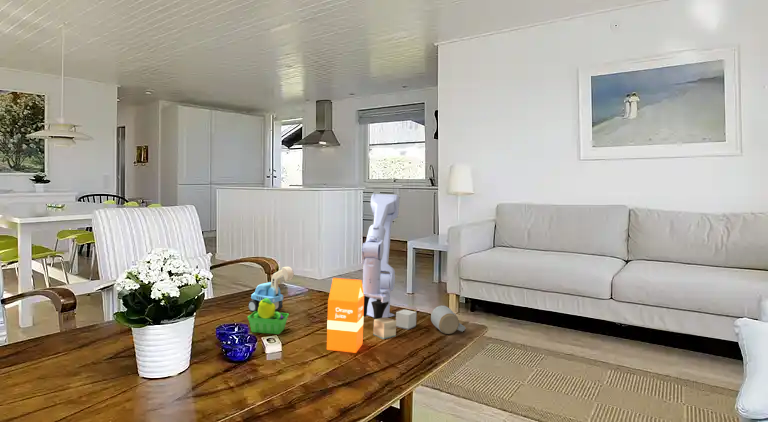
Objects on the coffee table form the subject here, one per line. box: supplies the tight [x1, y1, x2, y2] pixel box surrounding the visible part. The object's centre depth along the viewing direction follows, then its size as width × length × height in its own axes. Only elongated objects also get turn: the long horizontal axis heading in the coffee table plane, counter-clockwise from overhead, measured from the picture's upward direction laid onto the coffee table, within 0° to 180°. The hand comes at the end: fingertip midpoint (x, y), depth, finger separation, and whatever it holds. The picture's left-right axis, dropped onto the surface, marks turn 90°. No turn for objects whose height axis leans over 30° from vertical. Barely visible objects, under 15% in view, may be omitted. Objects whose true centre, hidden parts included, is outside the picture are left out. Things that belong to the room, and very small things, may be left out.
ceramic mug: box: [430, 305, 466, 335], centre depth 155 cm, size 11×8×8 cm
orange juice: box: [326, 277, 365, 354], centre depth 136 cm, size 8×9×20 cm
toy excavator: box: [247, 266, 295, 312], centre depth 169 cm, size 9×17×17 cm, turn 60°
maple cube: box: [372, 317, 397, 340], centre depth 148 cm, size 5×5×5 cm
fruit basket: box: [247, 298, 290, 335], centre depth 148 cm, size 11×9×11 cm
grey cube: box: [395, 308, 417, 331], centre depth 158 cm, size 5×5×5 cm
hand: (370, 319), depth 153 cm, fingers open, 7 cm apart
